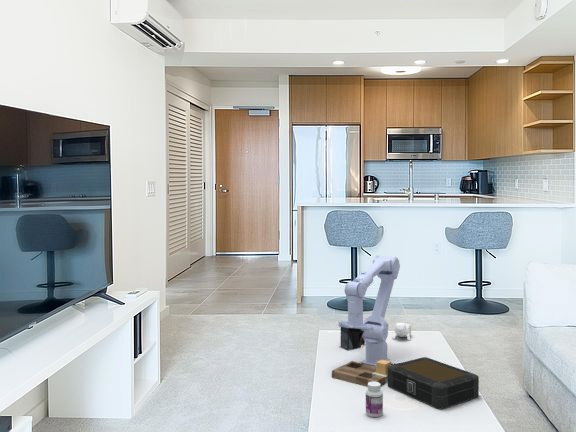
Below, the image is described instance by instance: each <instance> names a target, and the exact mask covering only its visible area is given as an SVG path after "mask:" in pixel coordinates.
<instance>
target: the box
mask: <svg viewBox="0 0 576 432" xmlns="http://www.w3.org/2000/svg"><path fill="white" fill-rule="evenodd" d="M348 329H349V328H346V327H340V348H342V349H343V350H346V351H350V350H354V349H355V348H353V346H352V342H351V339H350V337H349V335H348V333H347V330H348ZM359 348H362V345H361V340H360V343H359ZM359 348H358V349H359Z"/></svg>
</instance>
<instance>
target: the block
mask: <svg viewBox="0 0 576 432" xmlns="http://www.w3.org/2000/svg"><path fill="white" fill-rule="evenodd" d="M390 365H392V361H390V360H389V361H386V360H380V361H378V362H376V366H375V367H376V373H379V374H383V375H387V374H388V367H389V366H390Z"/></svg>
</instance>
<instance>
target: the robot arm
mask: <svg viewBox="0 0 576 432" xmlns="http://www.w3.org/2000/svg"><path fill="white" fill-rule="evenodd" d="M400 268H401V264H400V259H399V258H398V257H397V256H380V255H376V256H375V257H374V258H373V259H372V264H371V266H370V267H369V268H368V269H367V270H365V271H364V270H363V271H361V272H360V273H359V275H358V276H357V277H355V279H353V280H352V281H351V280H350V281H348V282H347V283H346V284H345V286H344V294H345V297H346V301H347V321H343V320H340V321H338V327H339V328H341V327H346V328H349V329H348V330H347V333H348V335H349V337H350V339H351V342H352V346H353V348H355V349H359V343H360V340H361V337H363V338H364V340H365V343H364V344H365V346H364V348H365V358H364V360H362V361H361V362H360V363H362V364H367V365H371V366H375V367H376V362H378V361H380V360H386V361H390V358H388V343H387V338H388V336H389V323H388V322H387V321H386V320H385V317H386V312H387V308H388V305H389V302H390V298H391V294H392V290H393V287H394V284H395V283H394V282H395V280H396V279H397V278H398V276H399V271H400ZM376 276H377V277H378V278H379V279H380V283H379V284H380V285H379V288H378V291H377V293H376V298H375V302H374V306H373V309H372V312H371V315H369V316H368V317H366V318H365V319H364V302H363V301H364V297H365V296H366V292H367V291H368V288H369V287H370V285H371V284H373V282H374V278H375V277H376Z"/></svg>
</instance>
